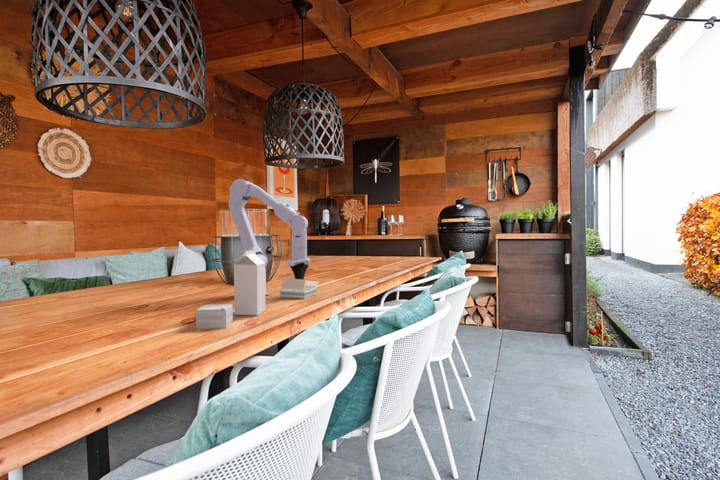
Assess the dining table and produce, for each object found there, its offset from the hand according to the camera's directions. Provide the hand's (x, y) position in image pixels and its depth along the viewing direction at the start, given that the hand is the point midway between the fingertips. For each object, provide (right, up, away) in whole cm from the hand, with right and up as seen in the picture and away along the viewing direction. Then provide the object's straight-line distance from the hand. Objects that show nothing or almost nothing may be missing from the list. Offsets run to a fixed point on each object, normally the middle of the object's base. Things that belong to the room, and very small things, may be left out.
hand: (299, 283), depth 151 cm
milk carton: (-10, -6, -31) cm, 33 cm away
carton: (0, -5, -1) cm, 5 cm away
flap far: (+1, -2, +4) cm, 4 cm away
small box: (-16, -7, -45) cm, 48 cm away
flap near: (-2, -2, -5) cm, 6 cm away
